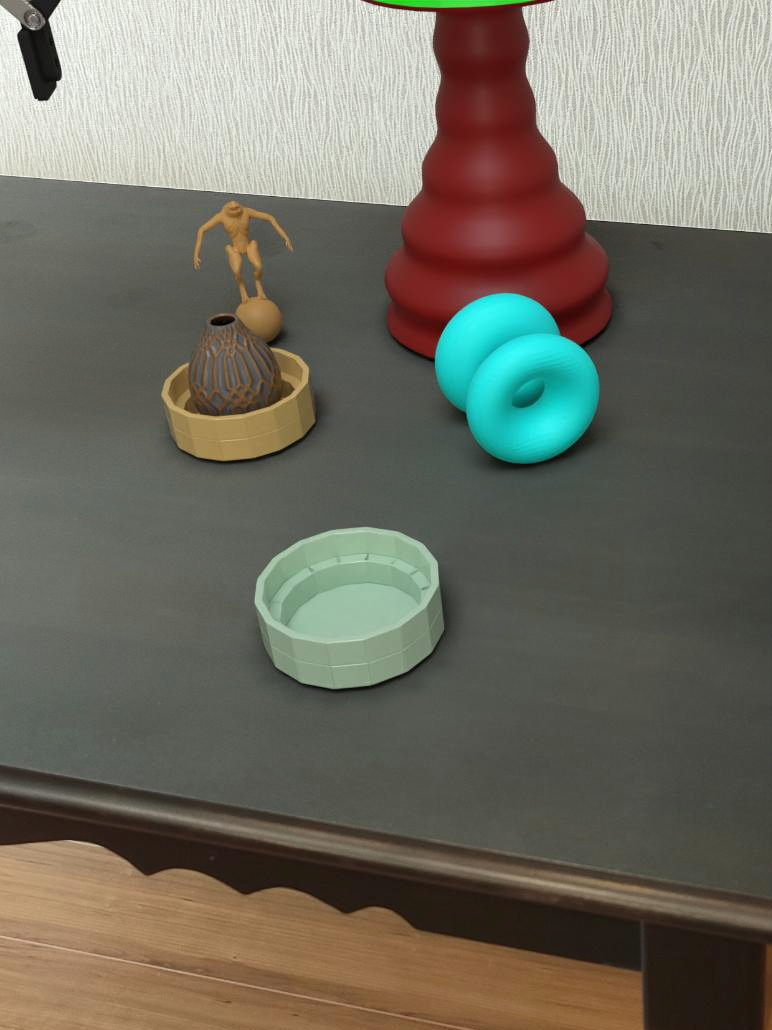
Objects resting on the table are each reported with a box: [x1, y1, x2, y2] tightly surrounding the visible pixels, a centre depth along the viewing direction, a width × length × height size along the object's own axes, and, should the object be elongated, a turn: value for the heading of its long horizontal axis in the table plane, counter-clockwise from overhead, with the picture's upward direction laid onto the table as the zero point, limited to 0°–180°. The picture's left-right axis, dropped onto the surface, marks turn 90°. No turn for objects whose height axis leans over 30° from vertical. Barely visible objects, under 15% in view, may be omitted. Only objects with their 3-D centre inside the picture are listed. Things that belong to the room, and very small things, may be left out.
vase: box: [188, 312, 282, 416], centre depth 97 cm, size 7×7×9 cm
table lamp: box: [360, 0, 613, 361], centre depth 100 cm, size 20×20×45 cm
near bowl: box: [253, 526, 445, 690], centre depth 78 cm, size 11×11×4 cm
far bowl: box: [160, 347, 317, 462], centre depth 99 cm, size 11×11×4 cm
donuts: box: [434, 293, 600, 465], centre depth 94 cm, size 10×10×10 cm
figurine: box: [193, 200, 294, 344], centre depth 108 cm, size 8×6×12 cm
